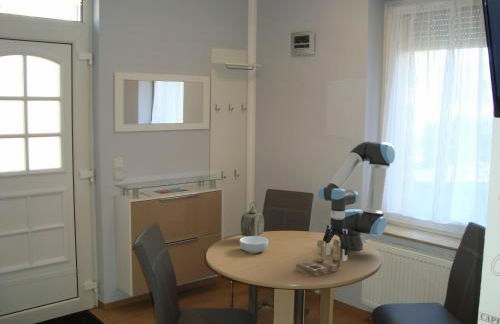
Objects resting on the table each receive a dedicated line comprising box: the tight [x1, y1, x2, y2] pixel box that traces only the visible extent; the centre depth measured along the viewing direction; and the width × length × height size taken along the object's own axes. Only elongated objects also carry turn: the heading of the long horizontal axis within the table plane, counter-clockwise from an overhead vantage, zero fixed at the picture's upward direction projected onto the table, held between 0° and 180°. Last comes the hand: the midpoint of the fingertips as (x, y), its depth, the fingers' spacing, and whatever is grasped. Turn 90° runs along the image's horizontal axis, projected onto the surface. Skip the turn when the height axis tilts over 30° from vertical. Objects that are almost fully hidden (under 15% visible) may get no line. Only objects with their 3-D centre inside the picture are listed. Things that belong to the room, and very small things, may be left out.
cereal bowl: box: [239, 235, 269, 254], centre depth 292 cm, size 17×17×7 cm
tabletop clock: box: [240, 201, 265, 237], centre depth 312 cm, size 14×9×25 cm, turn 150°
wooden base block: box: [294, 239, 339, 278], centre depth 259 cm, size 18×13×14 cm
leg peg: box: [332, 238, 341, 268], centre depth 267 cm, size 4×4×14 cm
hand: (336, 257), depth 268 cm, fingers open, 12 cm apart
